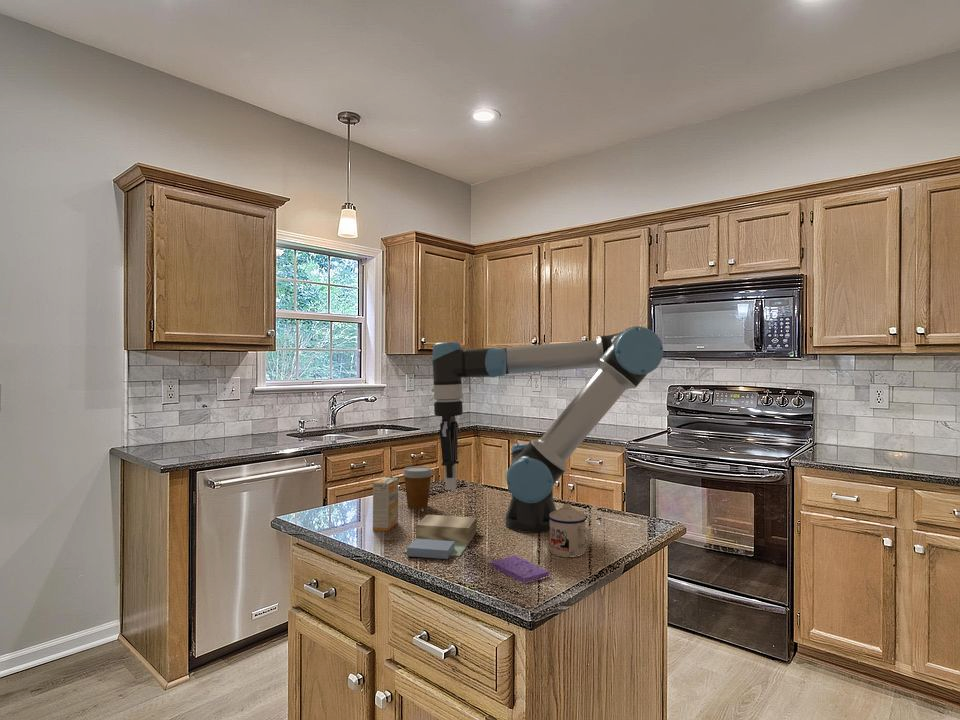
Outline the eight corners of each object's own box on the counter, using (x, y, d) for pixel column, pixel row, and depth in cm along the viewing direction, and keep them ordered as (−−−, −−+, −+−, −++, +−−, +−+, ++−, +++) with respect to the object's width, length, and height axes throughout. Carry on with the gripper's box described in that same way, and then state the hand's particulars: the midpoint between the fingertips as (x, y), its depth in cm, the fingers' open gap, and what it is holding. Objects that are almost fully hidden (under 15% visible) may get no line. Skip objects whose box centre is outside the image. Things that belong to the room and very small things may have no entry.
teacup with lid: (540, 550, 142) (540, 503, 142) (566, 543, 147) (566, 498, 147) (577, 564, 132) (577, 514, 132) (603, 556, 138) (603, 507, 138)
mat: (468, 544, 147) (468, 542, 147) (459, 556, 137) (459, 555, 137) (415, 540, 149) (415, 539, 149) (403, 552, 140) (403, 551, 140)
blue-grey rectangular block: (447, 550, 135) (447, 559, 135) (454, 541, 142) (454, 549, 142) (406, 547, 137) (406, 556, 137) (415, 538, 144) (415, 546, 144)
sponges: (524, 586, 121) (524, 577, 121) (490, 568, 131) (490, 559, 131) (549, 579, 125) (549, 570, 125) (514, 562, 135) (514, 554, 135)
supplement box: (388, 531, 157) (388, 483, 157) (372, 530, 158) (372, 482, 158) (399, 523, 165) (399, 477, 165) (383, 522, 166) (383, 476, 166)
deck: (476, 532, 157) (476, 517, 157) (468, 543, 147) (468, 528, 147) (427, 529, 159) (427, 514, 159) (415, 540, 150) (416, 524, 149)
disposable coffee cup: (431, 510, 179) (431, 471, 179) (400, 510, 179) (400, 471, 179) (433, 502, 189) (434, 466, 188) (404, 502, 189) (404, 465, 189)
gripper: (439, 399, 160) (442, 484, 160) (428, 402, 147) (431, 495, 147) (466, 398, 159) (469, 484, 159) (457, 402, 146) (460, 495, 146)
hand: (451, 489), depth 153 cm, fingers closed
